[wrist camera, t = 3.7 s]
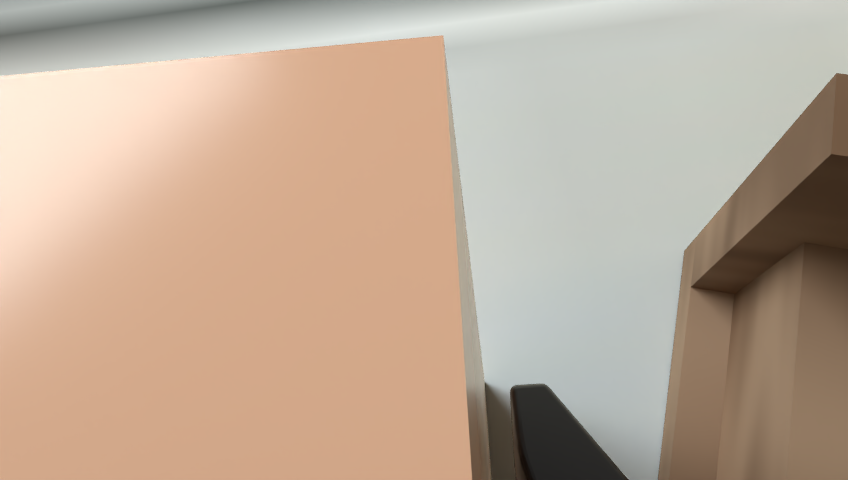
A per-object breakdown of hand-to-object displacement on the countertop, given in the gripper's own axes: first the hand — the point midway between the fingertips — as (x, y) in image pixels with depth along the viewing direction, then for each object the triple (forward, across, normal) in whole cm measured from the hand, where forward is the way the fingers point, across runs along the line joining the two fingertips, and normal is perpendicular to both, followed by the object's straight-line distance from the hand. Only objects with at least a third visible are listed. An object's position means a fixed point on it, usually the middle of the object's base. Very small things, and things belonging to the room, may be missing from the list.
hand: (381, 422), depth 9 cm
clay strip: (+4, 0, +6) cm, 7 cm away
